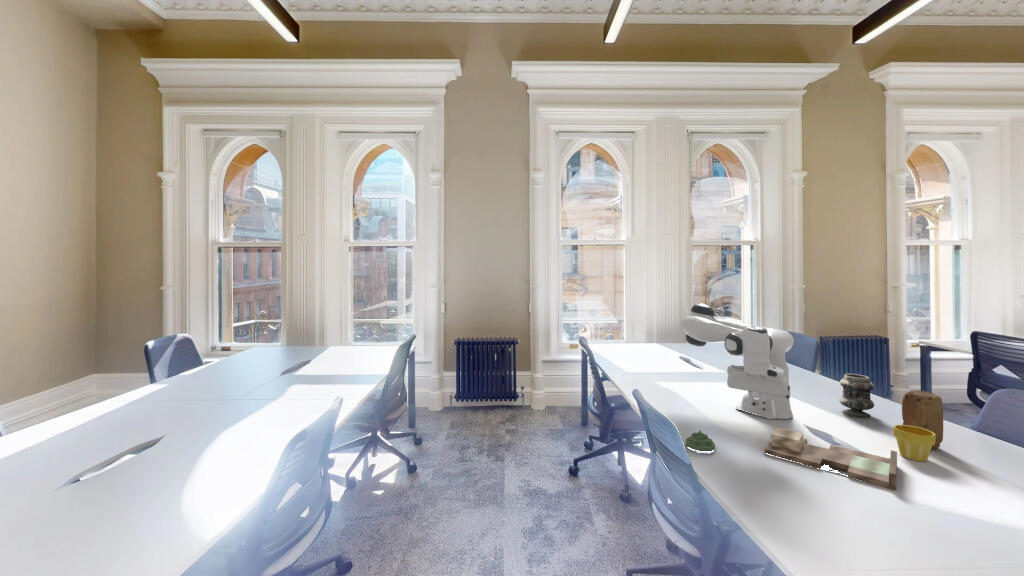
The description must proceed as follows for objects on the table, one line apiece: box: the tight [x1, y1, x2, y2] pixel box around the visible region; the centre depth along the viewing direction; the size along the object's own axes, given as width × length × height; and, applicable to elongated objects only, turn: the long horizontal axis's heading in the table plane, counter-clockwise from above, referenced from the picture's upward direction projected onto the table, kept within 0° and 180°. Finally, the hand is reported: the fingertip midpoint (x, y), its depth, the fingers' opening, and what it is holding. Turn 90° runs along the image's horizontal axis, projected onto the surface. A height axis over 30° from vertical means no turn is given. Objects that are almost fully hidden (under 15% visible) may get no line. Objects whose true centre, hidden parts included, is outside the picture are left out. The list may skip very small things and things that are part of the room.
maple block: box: [770, 427, 804, 451], centre depth 144 cm, size 8×8×4 cm
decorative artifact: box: [685, 429, 716, 451], centre depth 146 cm, size 10×7×10 cm
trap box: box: [764, 437, 898, 491], centre depth 135 cm, size 34×20×5 cm, turn 44°
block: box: [901, 390, 944, 450], centre depth 145 cm, size 11×8×20 cm
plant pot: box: [892, 424, 936, 462], centre depth 136 cm, size 10×10×10 cm
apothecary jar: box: [838, 373, 875, 419], centre depth 177 cm, size 12×12×18 cm
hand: (756, 403), depth 151 cm, fingers closed
